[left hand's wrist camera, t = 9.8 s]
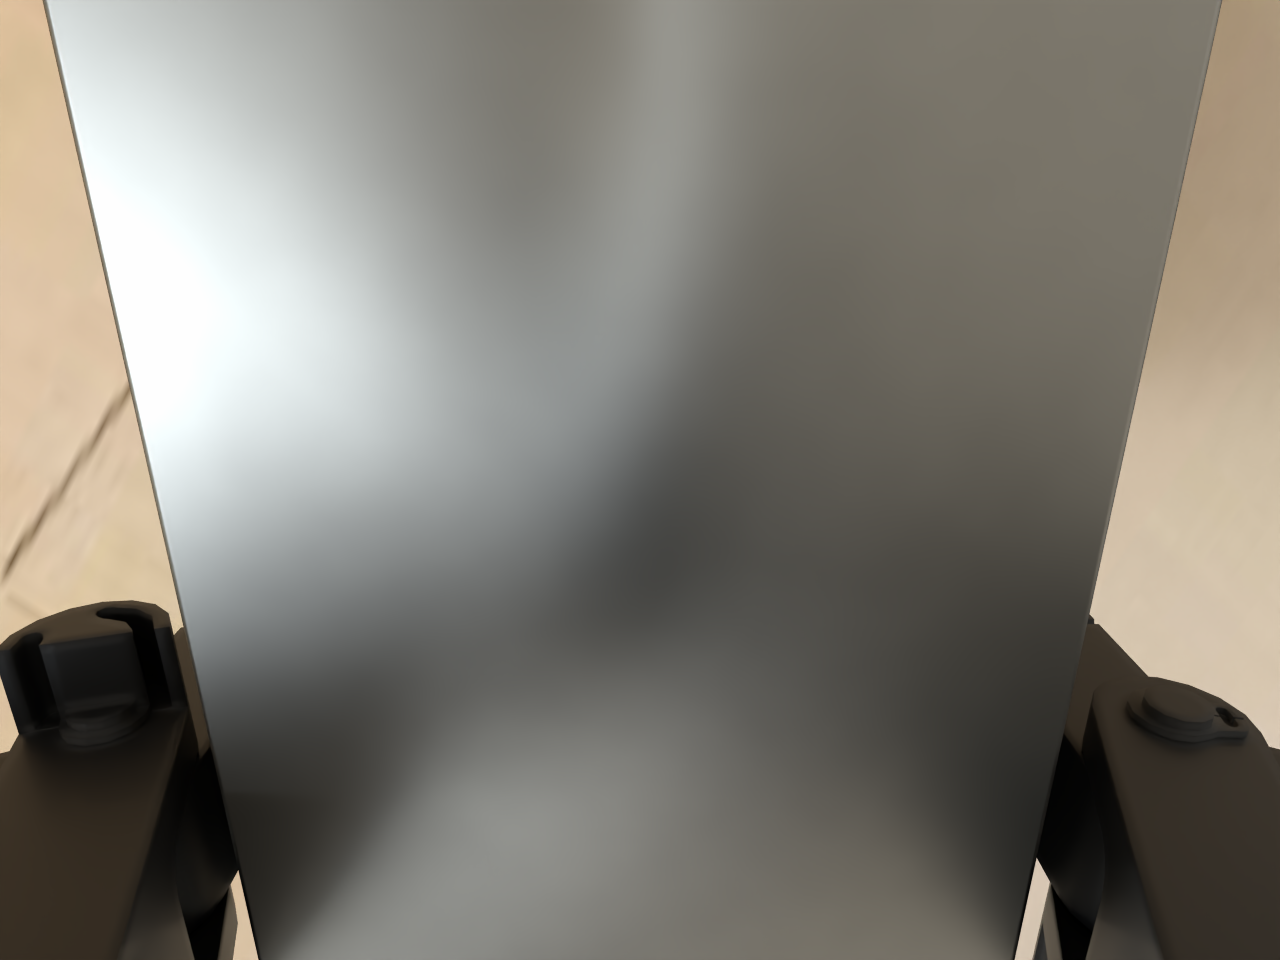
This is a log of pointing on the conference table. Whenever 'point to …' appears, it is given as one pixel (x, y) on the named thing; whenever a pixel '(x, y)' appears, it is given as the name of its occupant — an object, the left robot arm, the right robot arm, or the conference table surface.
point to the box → (634, 444)
